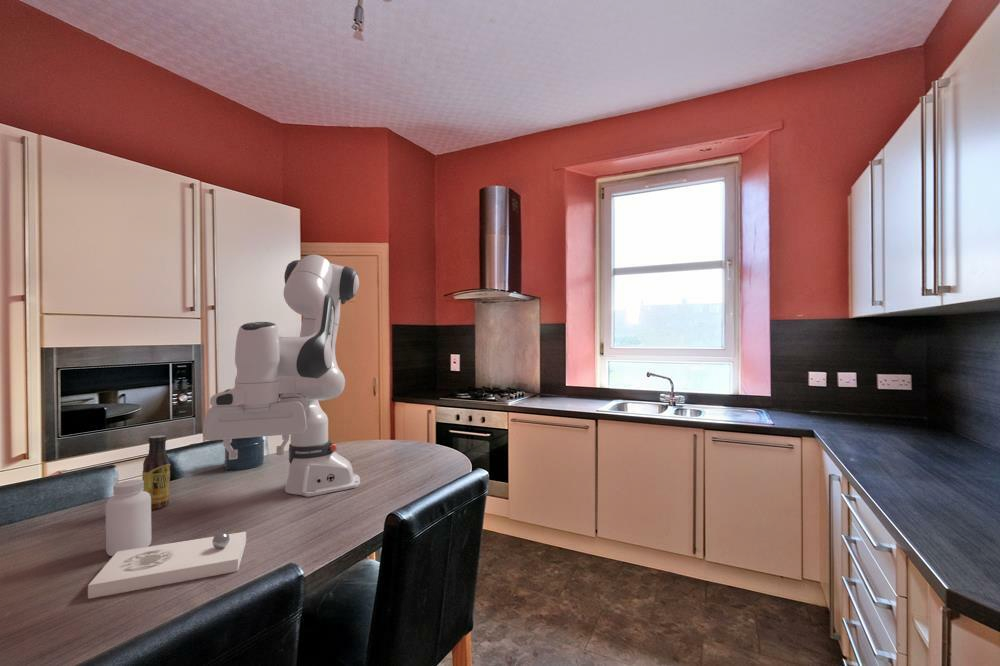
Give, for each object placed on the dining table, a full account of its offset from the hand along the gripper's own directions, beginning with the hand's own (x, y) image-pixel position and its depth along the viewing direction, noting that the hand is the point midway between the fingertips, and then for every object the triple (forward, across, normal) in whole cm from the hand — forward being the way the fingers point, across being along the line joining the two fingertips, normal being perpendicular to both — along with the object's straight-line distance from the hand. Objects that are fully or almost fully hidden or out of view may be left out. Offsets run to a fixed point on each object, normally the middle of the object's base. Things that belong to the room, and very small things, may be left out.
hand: (257, 456), depth 100 cm
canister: (+21, +11, -78) cm, 82 cm away
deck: (+22, +15, 0) cm, 26 cm away
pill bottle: (+22, +27, -14) cm, 37 cm away
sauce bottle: (+22, +29, -42) cm, 55 cm away
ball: (+17, +7, 0) cm, 19 cm away
